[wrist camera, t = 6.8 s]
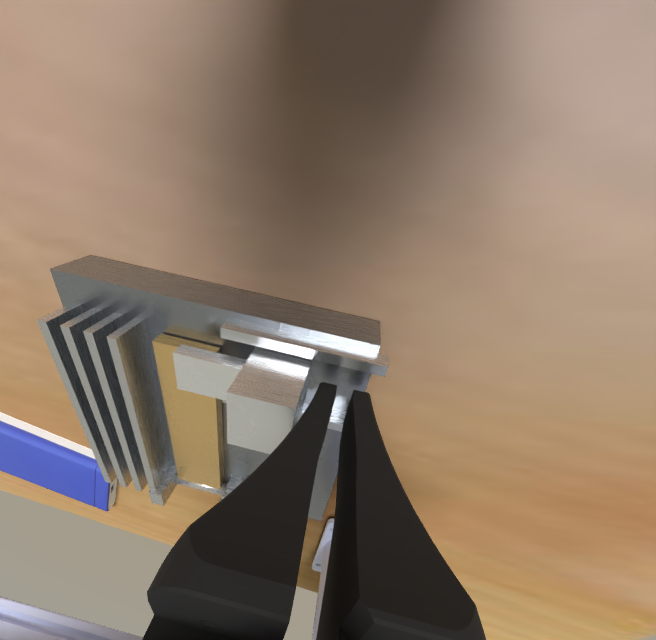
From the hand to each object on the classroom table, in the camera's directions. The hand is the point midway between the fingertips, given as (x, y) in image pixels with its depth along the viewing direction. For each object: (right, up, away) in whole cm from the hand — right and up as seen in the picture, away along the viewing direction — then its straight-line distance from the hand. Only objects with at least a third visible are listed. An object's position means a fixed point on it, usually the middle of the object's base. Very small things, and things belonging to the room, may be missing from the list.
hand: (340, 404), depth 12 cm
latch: (-4, +2, +1) cm, 4 cm away
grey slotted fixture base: (-6, -1, +6) cm, 9 cm away
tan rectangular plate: (-8, -2, +4) cm, 9 cm away
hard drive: (-25, -8, +14) cm, 30 cm away
